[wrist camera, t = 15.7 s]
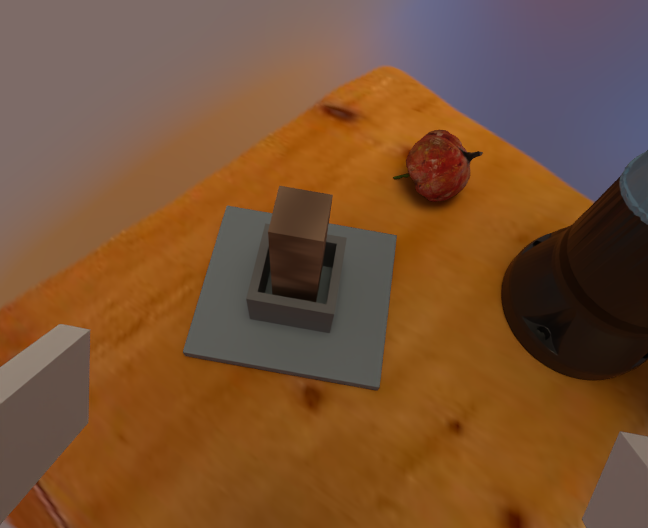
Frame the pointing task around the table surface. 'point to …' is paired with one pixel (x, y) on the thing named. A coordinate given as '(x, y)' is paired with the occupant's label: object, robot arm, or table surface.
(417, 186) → the pomegranate
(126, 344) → the table surface
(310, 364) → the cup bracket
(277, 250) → the walnut rail post
